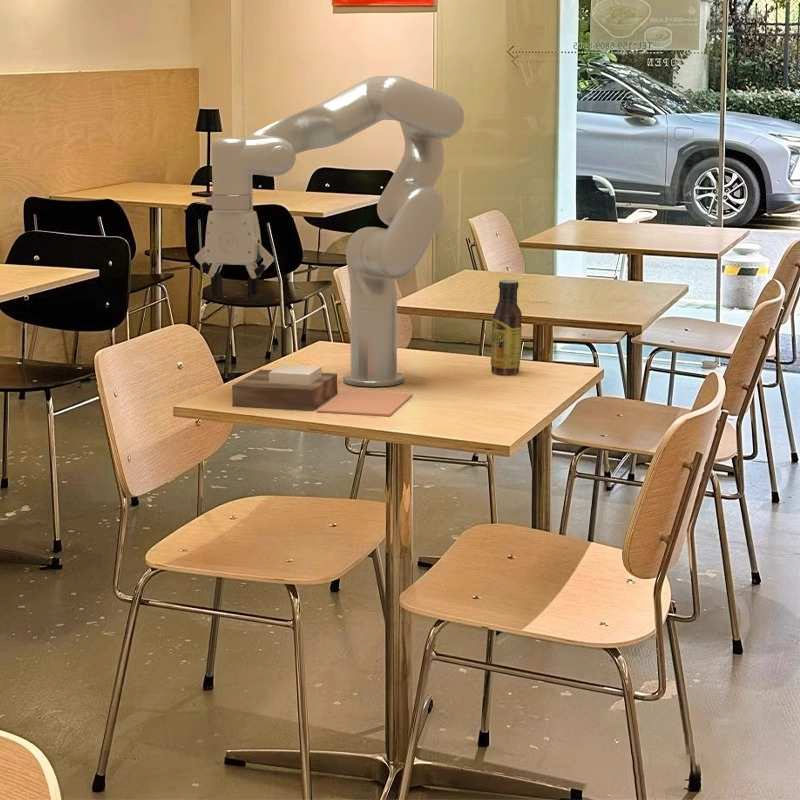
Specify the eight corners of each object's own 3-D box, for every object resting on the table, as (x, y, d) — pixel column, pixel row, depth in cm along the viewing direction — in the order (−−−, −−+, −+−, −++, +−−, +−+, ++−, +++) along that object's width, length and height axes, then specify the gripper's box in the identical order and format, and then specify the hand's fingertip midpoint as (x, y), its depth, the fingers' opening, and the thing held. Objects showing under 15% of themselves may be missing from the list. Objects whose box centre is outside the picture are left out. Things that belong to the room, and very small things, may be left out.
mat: (343, 392, 270) (343, 390, 270) (412, 396, 267) (412, 394, 267) (316, 412, 253) (316, 410, 253) (389, 416, 250) (389, 414, 250)
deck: (260, 389, 273) (260, 369, 272) (337, 393, 269) (337, 373, 269) (232, 406, 258) (232, 385, 257) (313, 410, 254) (313, 389, 253)
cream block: (282, 374, 267) (282, 364, 267) (321, 376, 265) (321, 366, 265) (269, 382, 259) (268, 372, 259) (309, 384, 258) (309, 374, 257)
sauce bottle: (485, 371, 291) (487, 279, 287) (512, 369, 293) (514, 278, 289) (498, 377, 285) (500, 283, 281) (525, 375, 287) (527, 281, 283)
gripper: (182, 204, 256) (185, 298, 260) (269, 206, 252) (271, 302, 256) (197, 201, 263) (200, 293, 267) (282, 203, 259) (284, 296, 263)
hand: (235, 297), depth 262 cm, fingers open, 6 cm apart
